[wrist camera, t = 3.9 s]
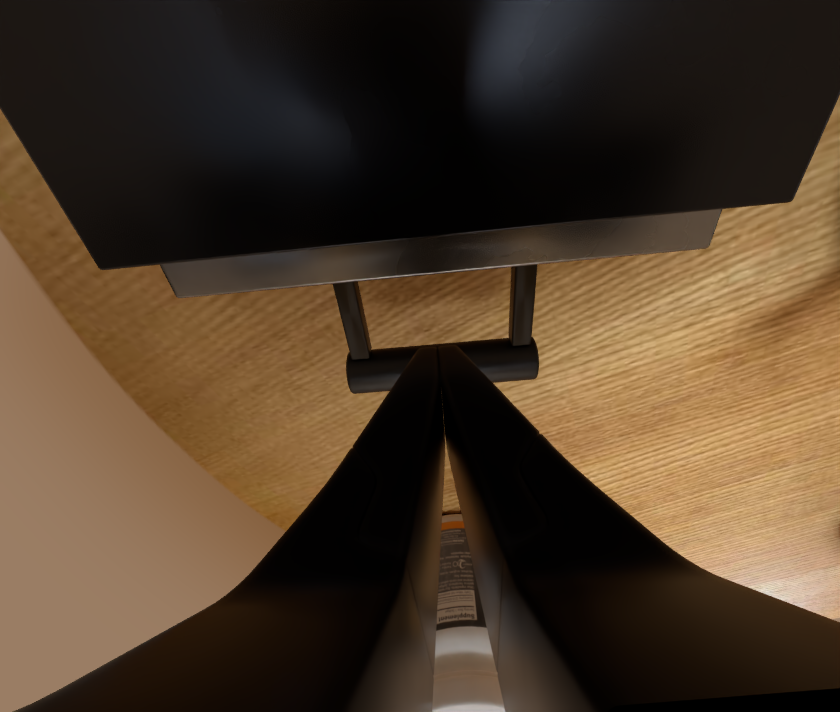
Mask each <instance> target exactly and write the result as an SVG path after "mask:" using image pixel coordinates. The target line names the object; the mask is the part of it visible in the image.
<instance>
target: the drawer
mask: <svg viewBox="0 0 840 712" xmlns="http://www.w3.org/2000/svg"><path fill="white" fill-rule="evenodd" d="M721 211H722V209H716V210H706V211H696V212H686V213H676V214H666V215H656V216H645V217H635V218H625V219H615V220H605V221H595V222H585V223H575V224H565V225H554V226H544V227H534V228H524V229H514V230H504V231H494V232H484V233H473V234H463V235H453V236H443V237H433V238H423V239H413V240H403V241H393V242H382V243H372V244H362V245H352V246H342V247H332V248H322V249H312V250H302V251H291V252H281V253H271V254H261V255H251V256H241V257H231V258H221V259H211V260H200V261H190V262H180V263H170V264H160V266H161V268H162V270H163V272H164V274H165V276H166V278H167V280H168V282H169V283H170V285H171V287H172V289H173V291H174V293H175V295H176V296H177V297H178V298H186V297H197V296H208V295H218V294H229V293H240V292H250V291H261V290H271V289H282V288H293V287H303V286H314V285H324V284H333V287H334V291H335V295H336V299H337V303H338V307H339V311H340V315H341V319H342V323H343V327H344V331H345V335H346V339H347V343H348V347H349V351H350V352H349V353H348V356H347V361H346V373H347V381H348V385H349V388H350V391H351V392H352V393H354V394H357V393H369V392H382V391H390V390H391V389H392V387H393V386H394V384H395V383H396V381H397V380H398V378H399V377H400V375H401V374H402V372H403V371H404V369H405V368H406V366H407V365H408V363H409V362H410V360H411V359H412V357H413V356H414V354H415V353H416V351H417V350H418V349H419V348H425V347H436V348H437V349H438V348H439V347H440V346H448V345H456V346H458V347H459V348H460V349H461V350H462V351H463V352H464V353H465V355H466V356H467V357H468V358H469V359H470V360H471V361H472V362H473V363H474V364H475V365H476V366H477V367H478V368H479V369H480V370H481V371H482V372H483V373H484V374H485V376H486V377H487V378H488V379H489V380H490V381H491V382H492V383H494V382H507V381H519V380H532V379H535V378H537V375H538V371H539V356H538V349H537V345H536V342H535V340H534V338H533V337H531V336H532V324H533V312H534V300H535V288H536V276H537V264H547V263H558V262H568V261H579V260H590V259H600V258H611V257H621V256H632V255H643V254H653V253H664V252H675V251H685V250H696V249H706V248H708V247H709V245H710V243H711V240H712V237H713V234H714V231H715V228H716V225H717V223H718V220H719V217H720V214H721ZM505 267H511V289H510V313H509V338H503V339H491V340H480V341H468V342H456V343H445V344H433V345H421V346H409V347H398V348H386V349H374V350H371V348H372V347H371V343H370V338H369V333H368V328H367V323H366V319H365V314H364V309H363V304H362V299H361V295H360V290H359V285H358V281H367V280H377V279H388V278H399V277H409V276H420V275H431V274H441V273H452V272H462V271H473V270H484V269H494V268H505ZM438 360H439V358H438ZM439 371H440V370H439ZM440 383H441V382H440Z"/></svg>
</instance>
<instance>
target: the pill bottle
mask: <svg viewBox="0 0 840 712" xmlns="http://www.w3.org/2000/svg"><path fill="white" fill-rule="evenodd" d="M433 677H434V686H433V706H432V712H505V708H504V703H503V699H502V694H501V690H500V685H499V681H498V672H497V671H496V667H495V662H494V658H493V653H492V649H491V644H490V640H489V635H488V631H487V626H486V622H485V617H484V613H483V608H482V604H481V599H480V595H479V590H478V586H477V581H476V577H475V572H474V568H473V563H472V559H471V554H470V550H469V545H468V541H467V536H466V532H465V527H464V523H463V518H462V514H450V515H444V516H442V525H441V545H440V565H439V585H438V605H437V625H436V645H435V665H434V675H433Z"/></svg>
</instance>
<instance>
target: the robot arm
mask: <svg viewBox="0 0 840 712" xmlns="http://www.w3.org/2000/svg"><path fill="white" fill-rule="evenodd" d="M438 358H439V360H438ZM439 370H440V371H439ZM440 382H441V383H440ZM441 393H442V394H441ZM442 405H443V406H442ZM443 416H444V418H443ZM444 427H445V430H444ZM445 437H446V445H447V450H448V455H449V460H450V464H451V469H452V473H453V478H454V482H455V487H456V491H457V496H458V500H459V505H460V509H461V514H462V518H463V523H464V527H465V532H466V536H467V541H468V545H469V550H470V554H471V559H472V563H473V568H474V572H475V577H476V581H477V586H478V590H479V595H480V599H481V604H482V608H483V613H484V617H485V622H486V626H487V631H488V635H489V640H490V644H491V649H492V653H493V658H494V662H495V667H496V671H497V672H498V681H499V685H500V690H501V694H502V699H503V703H504V708H505V712H840V622H837V621H834V620H832V619H829V618H827V617H824V616H821V615H819V614H816V613H813V612H811V611H808V610H806V609H803V608H800V607H798V606H795V605H792V604H790V603H787V602H784V601H782V600H779V599H777V598H774V597H771V596H769V595H766V594H763V593H761V592H758V591H756V590H753V589H750V588H748V587H745V586H742V585H740V584H737V583H735V582H732V581H729V580H727V579H724V578H722V577H719V576H717V575H714V574H712V573H710V572H708V571H706V570H704V569H702V568H700V567H699V566H697V565H695V564H694V563H692V562H690V561H689V560H687V559H685V558H684V557H683V556H681V555H680V554H678V553H677V552H675V551H674V550H673V549H671V548H670V547H669V546H667V545H666V544H665V543H664V542H662V541H661V540H660V539H659V538H657V537H656V536H655V535H654V534H653V533H651V532H650V531H649V530H648V529H647V528H646V527H644V526H643V525H642V524H641V523H640V522H638V521H637V520H636V519H635V518H634V517H632V516H631V515H630V514H629V513H628V512H626V511H625V510H624V509H623V508H622V507H620V506H619V505H618V504H617V503H616V502H614V501H613V500H612V499H611V498H610V497H608V496H607V495H606V494H605V493H604V492H602V491H601V490H600V489H599V488H598V487H597V486H595V485H594V484H593V483H592V482H591V481H590V480H589V479H587V478H586V477H585V476H584V475H583V474H582V473H581V472H579V471H578V470H577V469H576V468H575V467H574V466H573V465H572V464H571V463H570V462H569V461H568V460H567V459H565V458H564V457H563V456H562V455H561V454H560V453H559V452H558V451H557V450H556V449H555V448H554V447H553V446H552V445H551V444H550V442H549V441H548V440H547V439H546V438H545V437H544V436H543V435H542V434H539V431H538V430H537V429H536V428H535V427H534V426H533V425H532V424H531V423H530V422H529V421H528V420H527V418H526V417H525V416H524V415H523V414H522V413H521V412H520V411H519V410H518V409H517V408H516V407H515V406H514V405H513V404H512V403H511V402H510V401H509V400H508V399H507V398H506V396H505V395H504V394H503V393H502V392H501V391H500V390H499V389H498V388H497V387H496V386H495V385H494V384H493V383H492V382H491V381H490V380H489V379H488V378H487V377H486V376H485V374H484V373H483V372H482V371H481V370H480V369H479V368H478V367H477V366H476V365H475V364H474V363H473V362H472V361H471V360H470V359H469V358H468V357H467V356H466V355H465V353H464V352H463V351H462V350H461V349H460V348H459V347H458V346H456V345H448V346H440V347H439V348H438V349H437V348H436V347H425V348H419V349H418V350H417V351H416V353H415V354H414V356H413V357H412V359H411V360H410V362H409V363H408V365H407V366H406V368H405V369H404V371H403V372H402V374H401V375H400V377H399V378H398V380H397V381H396V383H395V384H394V386H393V387H392V389H391V390H390V391H389V393H388V394H387V396H386V397H385V399H384V400H383V402H382V403H381V405H380V406H379V408H378V409H377V411H376V412H375V414H374V415H373V417H372V418H371V420H370V421H369V423H368V424H367V426H366V427H365V429H364V430H363V432H362V433H361V435H360V436H359V438H358V439H357V440H356V442H355V443H354V445H353V448H351V449H350V450H349V452H348V453H347V455H346V456H345V458H344V459H343V461H342V462H341V464H340V465H339V467H338V468H337V469H336V471H335V472H334V474H333V475H332V476H331V478H330V479H329V480H328V482H327V483H326V484H325V486H324V487H323V488H322V489H321V491H320V492H319V493H318V494H317V495H316V497H315V498H314V499H313V500H312V502H311V503H310V504H309V505H308V507H307V508H306V509H305V510H304V511H303V512H302V514H301V515H300V516H299V517H298V518H297V519H296V521H295V522H294V523H293V524H292V525H291V526H290V528H289V529H288V530H287V531H286V532H285V533H284V535H283V536H282V537H281V538H280V539H279V540H278V542H277V543H276V544H275V545H274V546H273V548H272V549H271V550H270V551H269V552H268V553H267V555H266V556H265V557H264V558H263V559H262V560H261V562H260V563H259V564H258V565H257V566H256V567H255V568H254V569H253V570H252V572H251V573H250V574H249V575H248V576H247V577H246V578H245V579H244V580H243V581H242V582H241V583H240V584H239V585H238V586H236V587H235V588H234V589H233V590H232V591H230V592H229V593H228V594H227V595H226V596H224V597H223V598H221V599H220V600H219V601H217V602H216V603H214V604H212V605H211V606H209V607H207V608H206V609H204V610H202V611H200V612H199V613H197V614H195V615H193V616H191V617H190V618H187V619H186V620H184V621H182V622H180V623H178V624H177V625H175V626H173V627H171V628H169V629H168V630H166V631H164V632H162V633H160V634H159V635H157V636H155V637H153V638H151V639H150V640H148V641H146V642H144V643H143V644H141V645H139V646H137V647H135V648H134V649H132V650H130V651H128V652H126V653H125V654H123V655H121V656H119V657H117V658H115V659H114V660H112V661H110V662H108V663H106V664H105V665H103V666H101V667H99V668H97V669H96V670H94V671H92V672H90V673H88V674H87V675H85V676H83V677H81V678H79V679H78V680H76V681H74V682H72V683H70V684H68V685H67V686H65V687H63V688H61V689H59V690H58V691H56V692H54V693H52V694H50V695H48V696H46V697H44V698H42V699H40V700H38V701H36V702H34V703H32V704H30V705H28V706H26V707H23V708H21V709H18V710H16V711H13V712H432V706H433V686H434V677H433V675H434V665H435V645H436V625H437V605H438V585H439V565H440V545H441V525H442V505H443V486H444V466H445Z"/></svg>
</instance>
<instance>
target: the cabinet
mask: <svg viewBox="0 0 840 712" xmlns="http://www.w3.org/2000/svg"><path fill="white" fill-rule="evenodd" d="M839 95H840V0H0V109H1V110H2V112H3V114H4V115H5V117H6V119H7V120H8V122H9V123H10V125H11V127H12V128H13V130H14V131H15V133H16V135H17V136H18V138H19V140H20V141H21V143H22V144H23V146H24V148H25V149H26V151H27V153H28V154H29V156H30V157H31V159H32V161H33V162H34V164H35V165H36V167H37V169H38V170H39V172H40V174H41V175H42V177H43V178H44V180H45V182H46V183H47V185H48V187H49V188H50V190H51V191H52V193H53V195H54V196H55V198H56V199H57V201H58V203H59V204H60V206H61V208H62V209H63V211H64V212H65V214H66V216H67V217H68V219H69V220H70V222H71V224H72V225H73V227H74V229H75V230H76V232H77V233H78V235H79V237H80V238H81V240H82V242H83V243H84V245H85V246H86V248H87V250H88V251H89V253H90V254H91V256H92V258H93V259H94V261H95V263H96V264H97V266H98V267H99V268H100V269H101V270H109V269H120V268H130V267H140V266H150V265H160V264H170V263H180V262H190V261H200V260H211V259H221V258H231V257H241V256H251V255H261V254H271V253H281V252H291V251H302V250H312V249H322V248H332V247H342V246H352V245H362V244H372V243H382V242H393V241H403V240H413V239H423V238H433V237H443V236H453V235H463V234H473V233H484V232H494V231H504V230H514V229H524V228H534V227H544V226H554V225H565V224H575V223H585V222H595V221H605V220H615V219H625V218H635V217H645V216H656V215H666V214H676V213H686V212H696V211H706V210H716V209H726V208H736V207H747V206H757V205H767V204H777V203H787V202H791V201H792V200H793V199H794V196H795V194H796V192H797V190H798V187H799V185H800V183H801V181H802V178H803V176H804V174H805V172H806V169H807V167H808V165H809V163H810V160H811V158H812V156H813V154H814V151H815V149H816V147H817V145H818V142H819V140H820V138H821V136H822V133H823V131H824V129H825V127H826V124H827V122H828V120H829V118H830V115H831V113H832V111H833V109H834V106H835V104H836V102H837V100H838V98H839Z"/></svg>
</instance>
